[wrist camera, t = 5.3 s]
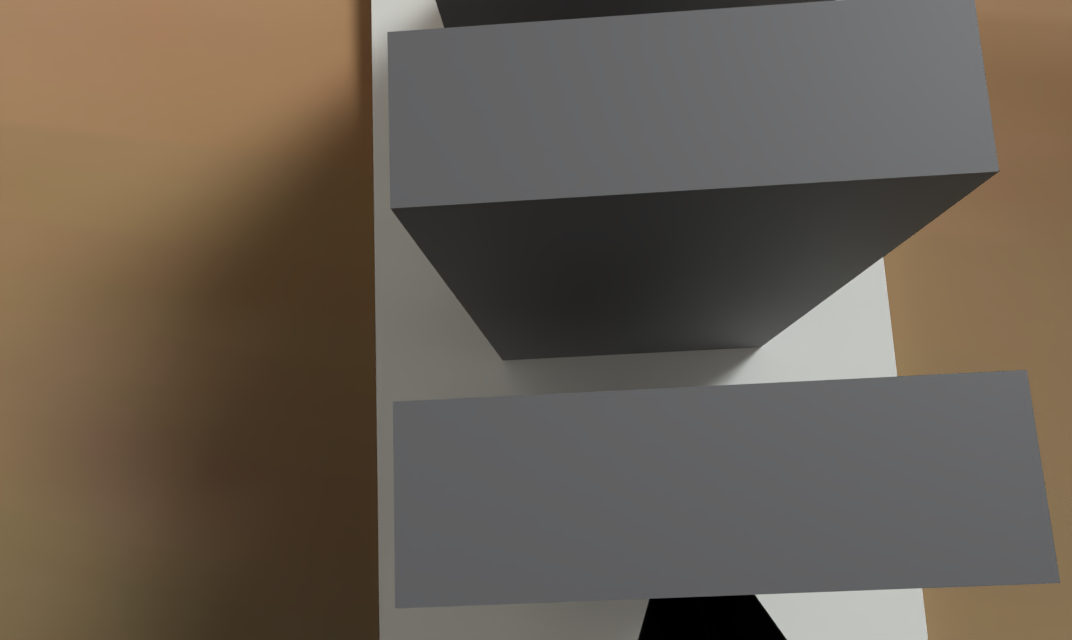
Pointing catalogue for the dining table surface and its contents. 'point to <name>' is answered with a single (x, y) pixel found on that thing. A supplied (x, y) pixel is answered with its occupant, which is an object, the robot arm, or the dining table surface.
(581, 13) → the domino
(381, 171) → the white mat
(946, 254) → the dining table surface
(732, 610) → the robot arm
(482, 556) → the domino
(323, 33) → the dining table surface
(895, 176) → the domino
